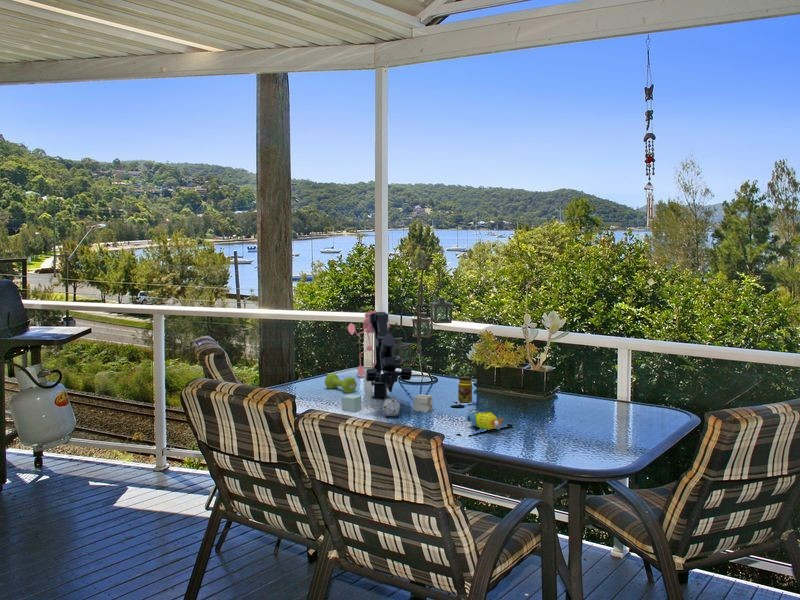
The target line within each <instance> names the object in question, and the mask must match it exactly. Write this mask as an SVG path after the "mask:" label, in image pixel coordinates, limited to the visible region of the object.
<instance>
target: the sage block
mask: <svg viewBox="0 0 800 600" xmlns="http://www.w3.org/2000/svg"><path fill="white" fill-rule="evenodd" d="M342 410H343V411H342ZM361 410H362V395H358V394H352V393H348V394H346V395H344V396H341V411H342V412H348V413H356V412H358V411H361Z"/></svg>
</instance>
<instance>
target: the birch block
mask: <svg viewBox="0 0 800 600" xmlns="http://www.w3.org/2000/svg"><path fill="white" fill-rule="evenodd" d="M431 409H432V410H433V395H428V394H417V395H415V396H413V411H414V410H415V411H414V412H419V411H424V412H423V413H428V412H430V411H432V410H431ZM429 410H430V411H429ZM427 411H428V412H427Z"/></svg>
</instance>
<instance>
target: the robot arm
mask: <svg viewBox="0 0 800 600" xmlns="http://www.w3.org/2000/svg"><path fill="white" fill-rule="evenodd" d="M369 323H371V328H372V330H373V331H374V333H373V334H374V350H375V351H374V358H375V363H374V364H375V366H374V368H373V369H372V368H367V369H366V371H365V372H366V373H365V380H366V382H370V385H371V386H373V396H370V398H371V399H377V400H385V399H384V397H385V398H386V399H389V398H390V395H389V394H388V393H387V390H388V392H389V393H392V391H393V387H394V385H395V383H397V382H398V380H399V377H400V380H402V381H410V380H411V378H412V373H413V370H412V368H411V367H401V370H396V369H397V365H400V364H401V356H400V355H395V356H394V351H395V347H396V345H397V344H398V343H397V342H398V341H397V340H396V338H395V337H394V336H393V333H392V332H391V331H389V327H388V326H387V323H388V324H389V313H387V312H385V311H381V312H380V311H376V313H372V314H370V316H369ZM387 394H388V395H387Z"/></svg>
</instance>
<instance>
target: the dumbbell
mask: <svg viewBox="0 0 800 600" xmlns="http://www.w3.org/2000/svg"><path fill="white" fill-rule="evenodd" d="M324 385H325V387H326V388H327V389H328V388H329V390H334V389H333V388H335V389H337V388H338V387H341V389H342V390H343V392H344V393H345V394H352V393H354V392H355V391H356V388H357V385H358V384H357V381H356V379H355V378H354V377H352V376H351V377H350V376H347V377H345V378H344V379H343V380H341V379H340V378H339V376H338V374H337V373H328V374H327V375H326V376H325V379H324Z"/></svg>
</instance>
